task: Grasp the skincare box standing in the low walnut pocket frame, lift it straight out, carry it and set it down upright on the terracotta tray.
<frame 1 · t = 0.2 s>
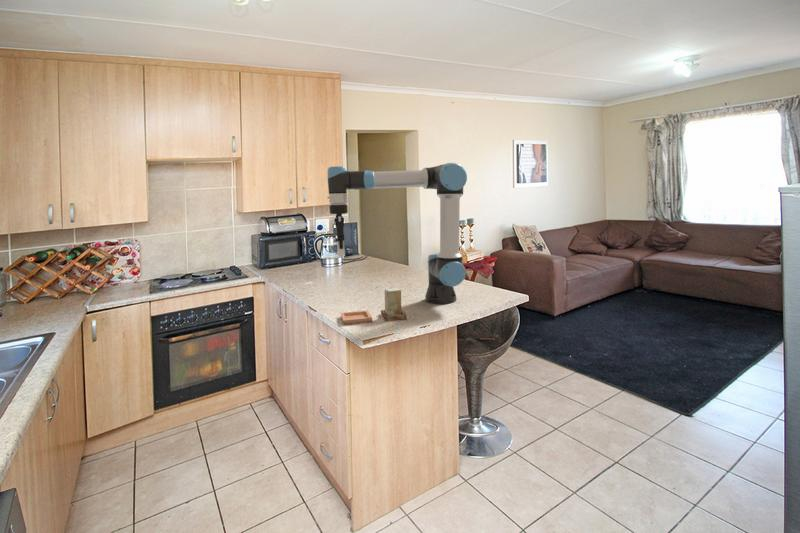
hand: (341, 254, 186), 28 cm above the worktop, fingers open, 13 cm apart
skincare box: (393, 317, 187), resting in pocket frame
pocket frame: (393, 317, 187), on the worktop
tray: (356, 319, 185), on the worktop
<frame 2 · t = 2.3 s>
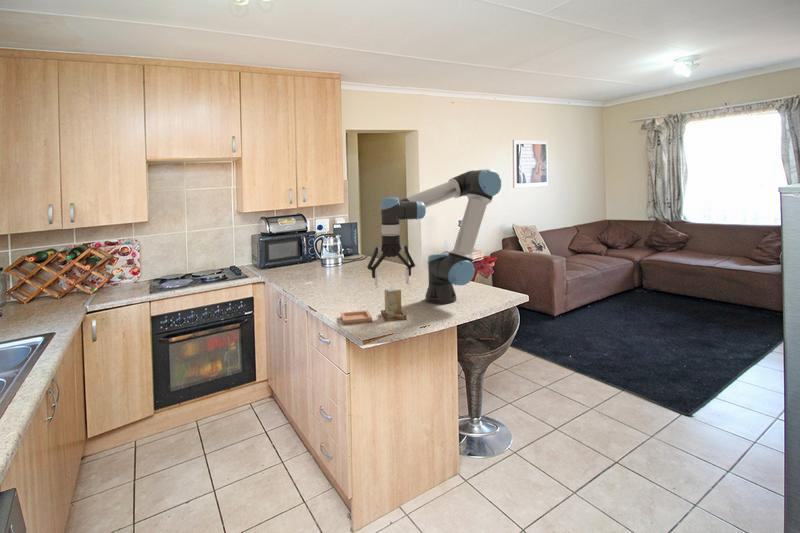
hand: (391, 284, 184), 14 cm above the worktop, fingers open, 13 cm apart
nothing on the worktop moved.
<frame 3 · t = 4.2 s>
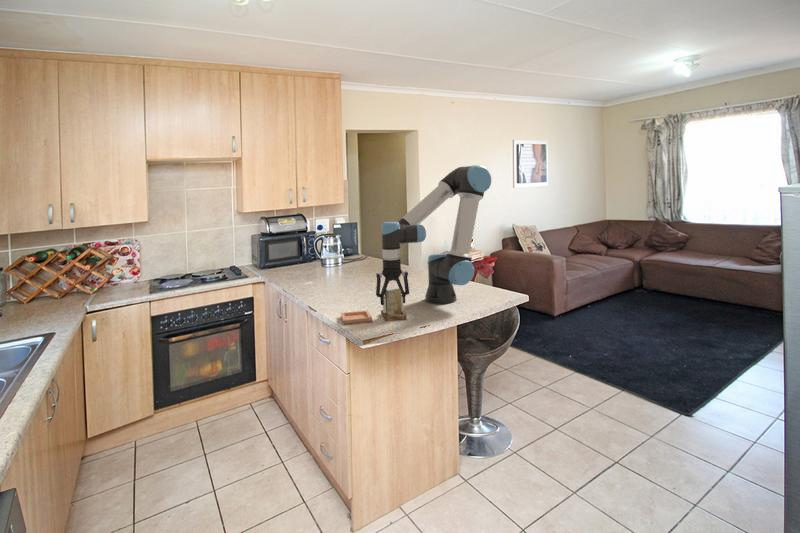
hand: (393, 311, 187), 3 cm above the worktop, fingers closed on skincare box, 7 cm apart
skincare box: (393, 317, 187), resting in pocket frame, touching gripper
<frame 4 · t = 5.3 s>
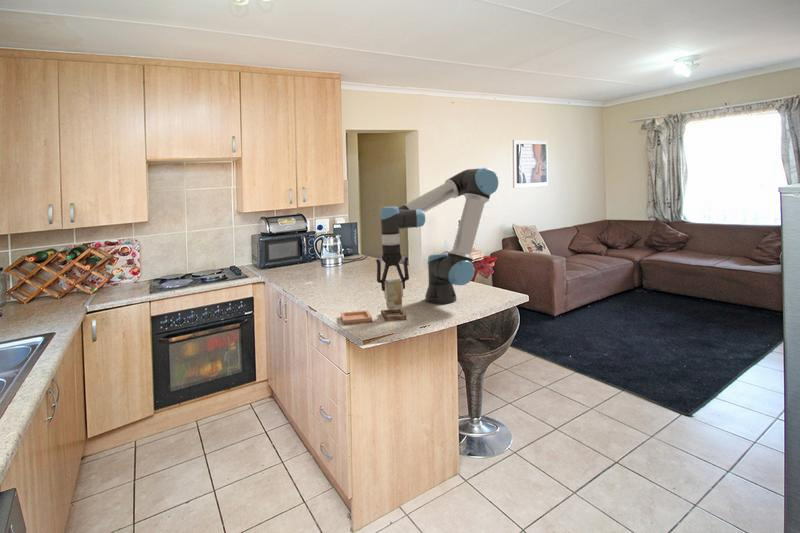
hand: (393, 297, 186), 9 cm above the worktop, fingers closed on skincare box, 6 cm apart
skincare box: (394, 308, 187), point 4 cm above the worktop, touching gripper
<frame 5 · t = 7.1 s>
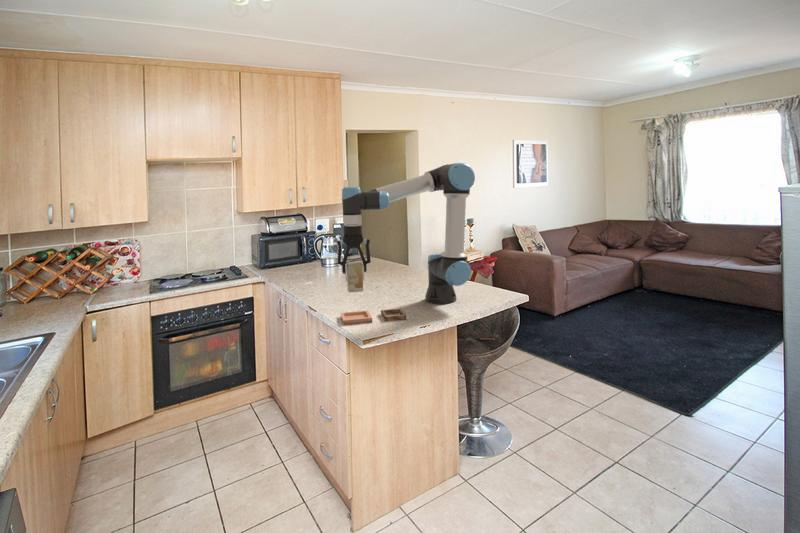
hand: (354, 280, 182), 17 cm above the worktop, fingers closed on skincare box, 6 cm apart
skincare box: (355, 291, 183), point 12 cm above the worktop, touching gripper
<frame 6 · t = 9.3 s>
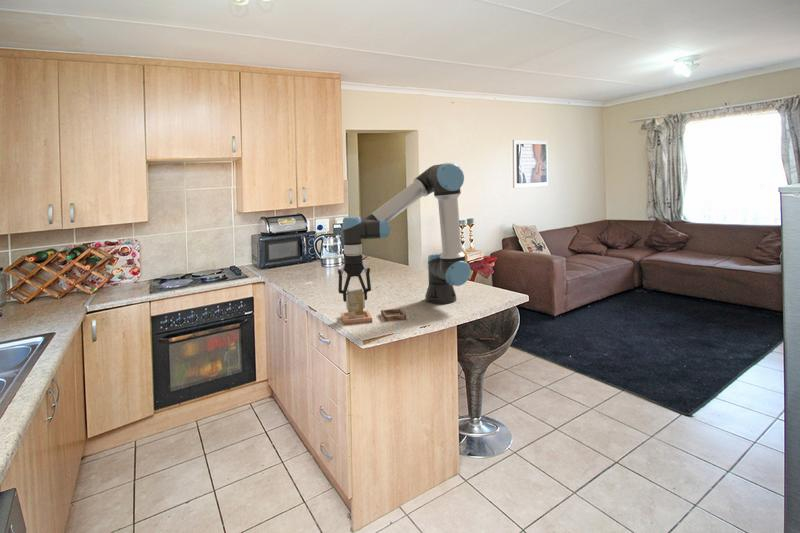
hand: (355, 308, 184), 5 cm above the worktop, fingers closed on skincare box, 6 cm apart
skincare box: (356, 318, 185), point 1 cm above the worktop, touching gripper, tray
when the fingers open (5 cm above the worktop, at t = 10.3 s): skincare box stays where it is, resting on tray.
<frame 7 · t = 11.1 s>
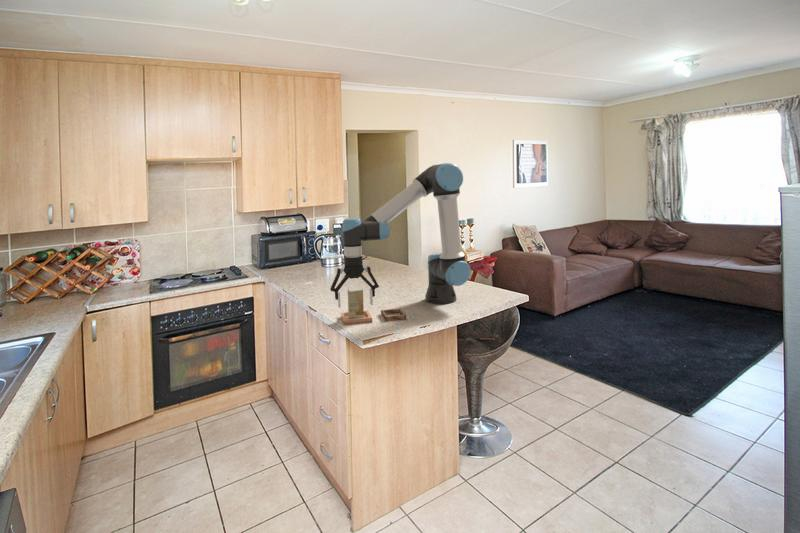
hand: (355, 305, 184), 6 cm above the worktop, fingers open, 13 cm apart
skincare box: (356, 318, 185), point 1 cm above the worktop, touching tray
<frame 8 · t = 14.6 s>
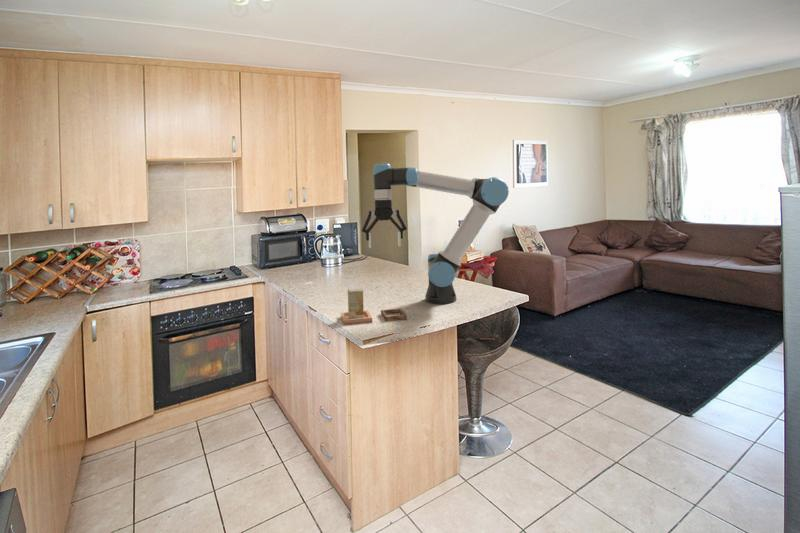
hand: (384, 246, 197), 29 cm above the worktop, fingers open, 13 cm apart
nothing on the worktop moved.
at the end: skincare box inside the target area on the tray (0.1 cm from its centre), point 0.6 cm above the tray's base; skincare box tilted 0°; the gripper is holding nothing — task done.
